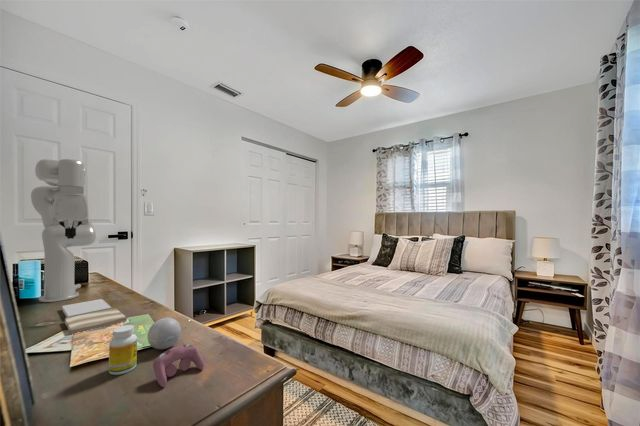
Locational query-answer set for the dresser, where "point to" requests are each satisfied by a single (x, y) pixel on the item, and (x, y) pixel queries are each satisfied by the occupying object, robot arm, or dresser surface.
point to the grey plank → (85, 308)
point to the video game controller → (183, 352)
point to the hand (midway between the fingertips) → (70, 238)
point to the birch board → (94, 320)
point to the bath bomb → (164, 333)
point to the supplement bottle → (122, 350)
